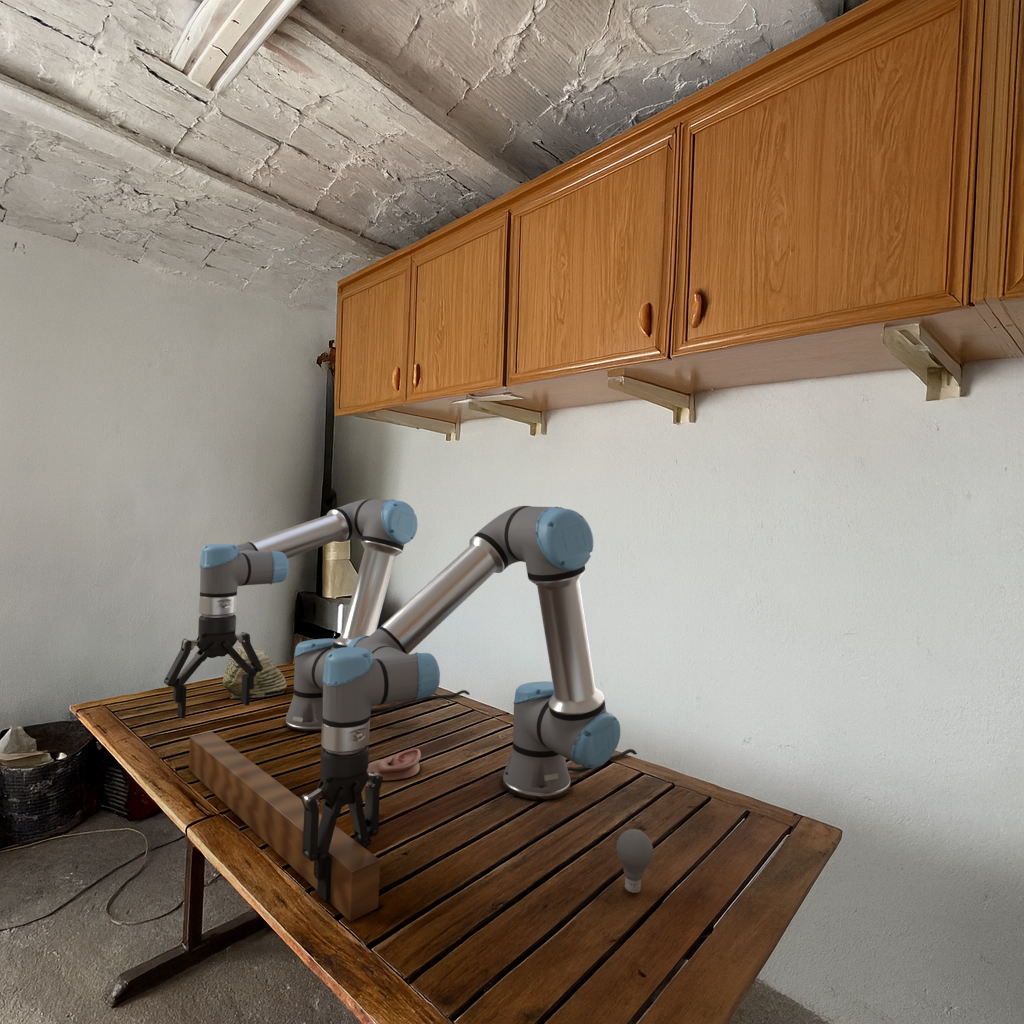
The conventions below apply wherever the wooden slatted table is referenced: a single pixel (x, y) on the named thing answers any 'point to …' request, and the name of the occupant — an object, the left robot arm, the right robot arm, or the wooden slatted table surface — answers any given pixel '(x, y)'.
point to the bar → (284, 823)
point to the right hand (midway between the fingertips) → (339, 889)
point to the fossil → (264, 681)
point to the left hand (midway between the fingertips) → (214, 710)
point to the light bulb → (634, 857)
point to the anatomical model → (397, 765)
